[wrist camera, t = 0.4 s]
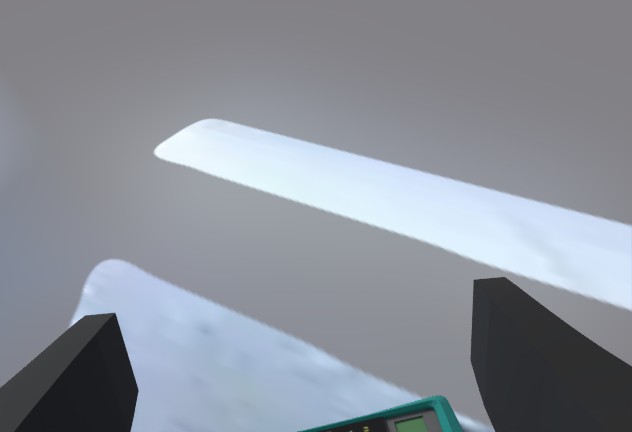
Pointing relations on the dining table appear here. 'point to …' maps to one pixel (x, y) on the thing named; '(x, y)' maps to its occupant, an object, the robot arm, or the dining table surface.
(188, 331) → the dining table surface
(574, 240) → the dining table surface
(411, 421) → the digital multimeter
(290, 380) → the dining table surface
